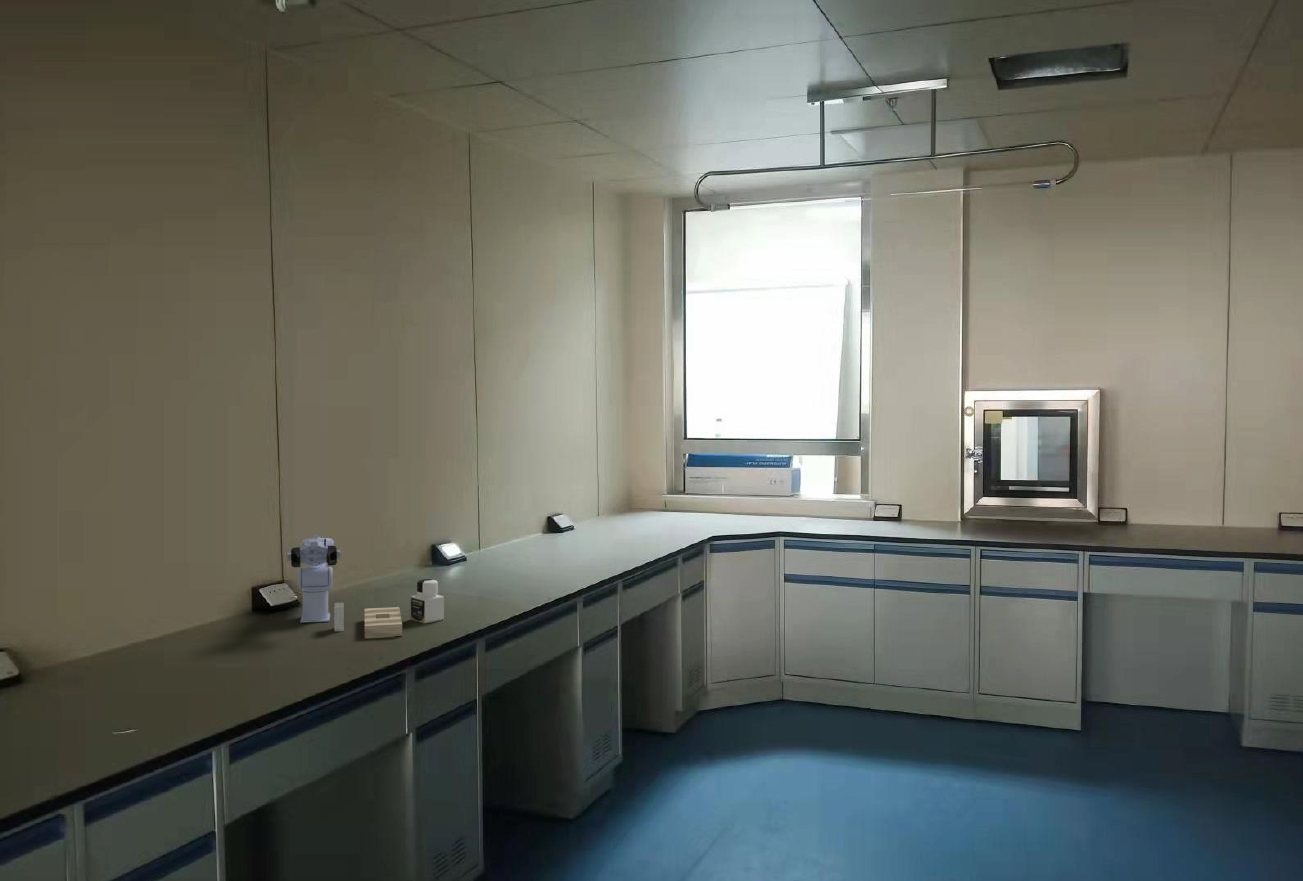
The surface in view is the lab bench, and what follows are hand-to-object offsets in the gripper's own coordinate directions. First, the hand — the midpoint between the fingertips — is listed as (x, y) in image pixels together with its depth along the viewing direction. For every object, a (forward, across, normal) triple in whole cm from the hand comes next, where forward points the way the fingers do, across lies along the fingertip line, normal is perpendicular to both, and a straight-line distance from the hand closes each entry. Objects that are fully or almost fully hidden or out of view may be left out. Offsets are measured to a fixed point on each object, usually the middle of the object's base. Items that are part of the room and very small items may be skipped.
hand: (313, 559), depth 278 cm
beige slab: (-4, +18, +21) cm, 29 cm away
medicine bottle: (-12, +32, +22) cm, 40 cm away
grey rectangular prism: (-6, +6, +21) cm, 23 cm away
